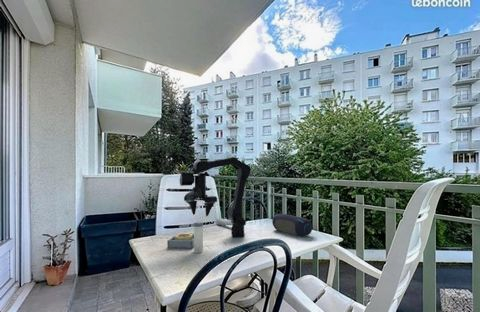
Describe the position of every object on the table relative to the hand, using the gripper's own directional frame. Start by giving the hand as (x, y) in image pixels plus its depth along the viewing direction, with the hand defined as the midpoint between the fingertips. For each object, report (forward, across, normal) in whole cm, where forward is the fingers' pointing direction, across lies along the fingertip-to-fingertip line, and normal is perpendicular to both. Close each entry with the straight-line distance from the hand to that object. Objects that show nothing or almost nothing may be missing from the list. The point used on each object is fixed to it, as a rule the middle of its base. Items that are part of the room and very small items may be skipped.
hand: (200, 215), depth 134 cm
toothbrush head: (+13, -6, +32) cm, 35 cm away
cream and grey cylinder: (+13, +12, -13) cm, 22 cm away
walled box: (+13, -2, -9) cm, 16 cm away
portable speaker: (+13, +33, +39) cm, 53 cm away
